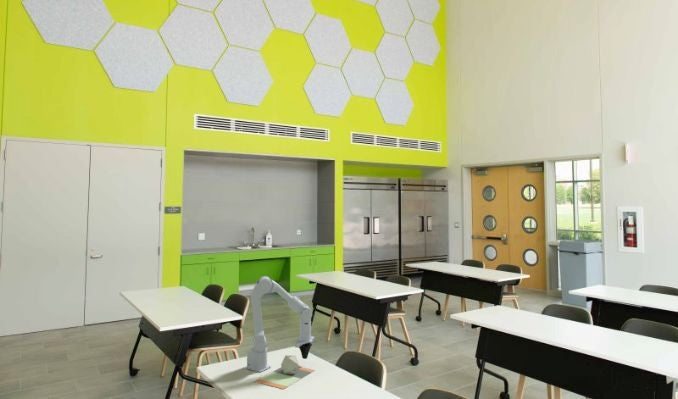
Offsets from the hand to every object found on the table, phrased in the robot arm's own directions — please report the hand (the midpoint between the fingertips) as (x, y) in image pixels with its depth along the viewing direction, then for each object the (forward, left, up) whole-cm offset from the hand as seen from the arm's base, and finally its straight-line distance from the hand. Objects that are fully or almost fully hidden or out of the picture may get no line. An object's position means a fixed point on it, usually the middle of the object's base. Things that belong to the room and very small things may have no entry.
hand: (304, 358), depth 206 cm
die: (0, -12, -3) cm, 13 cm away
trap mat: (0, -16, -3) cm, 16 cm away
